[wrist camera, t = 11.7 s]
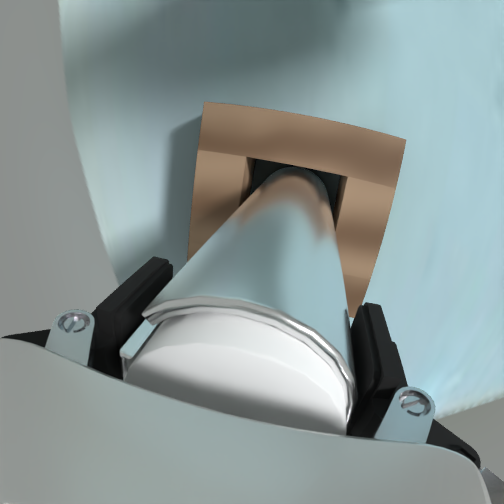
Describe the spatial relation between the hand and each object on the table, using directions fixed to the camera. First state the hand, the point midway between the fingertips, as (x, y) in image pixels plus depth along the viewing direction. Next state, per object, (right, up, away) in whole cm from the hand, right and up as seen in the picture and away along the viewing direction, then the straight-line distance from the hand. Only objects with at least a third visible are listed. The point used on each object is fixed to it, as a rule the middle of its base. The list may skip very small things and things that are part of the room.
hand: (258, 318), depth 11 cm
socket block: (+3, +7, +18) cm, 20 cm away
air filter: (+4, +7, +18) cm, 20 cm away
